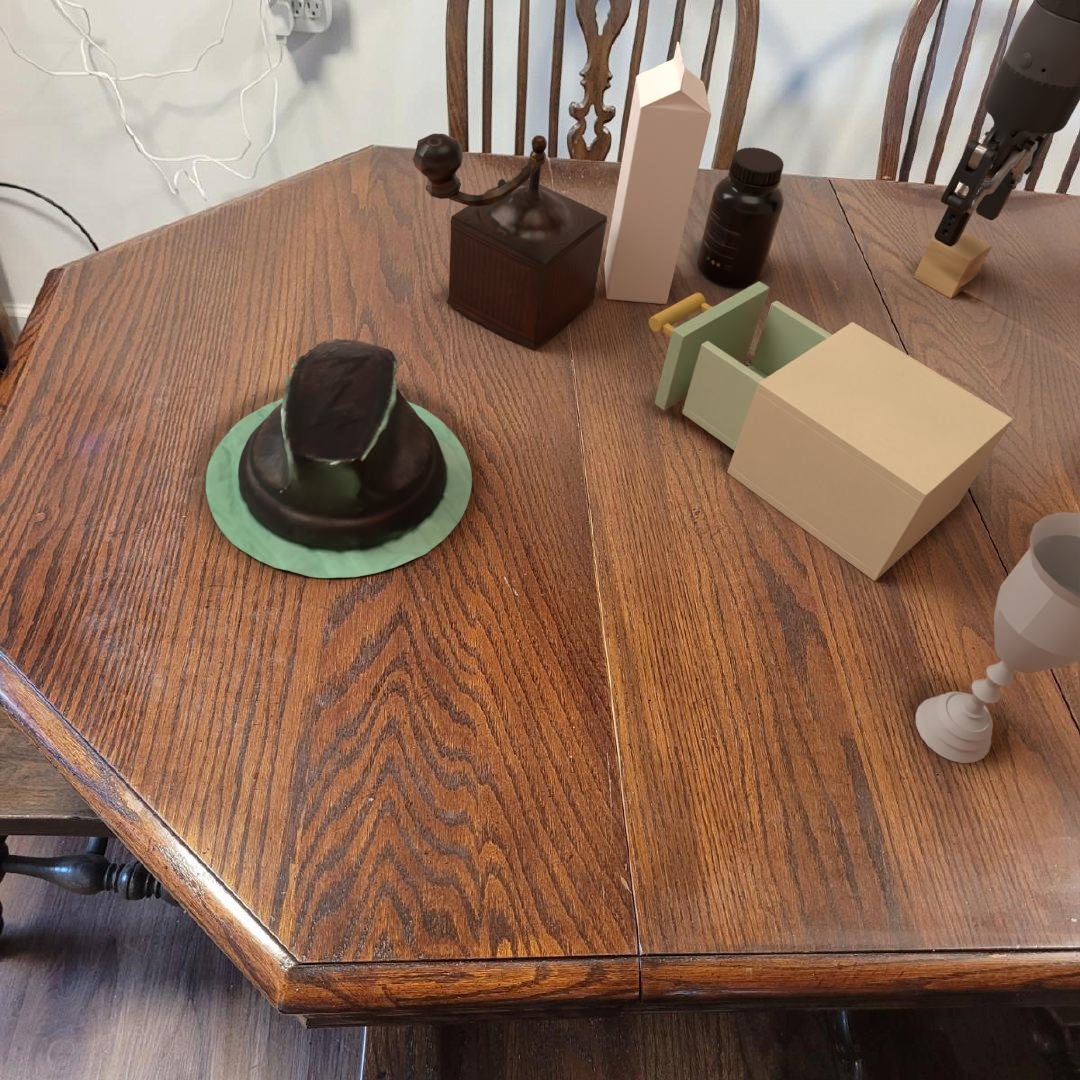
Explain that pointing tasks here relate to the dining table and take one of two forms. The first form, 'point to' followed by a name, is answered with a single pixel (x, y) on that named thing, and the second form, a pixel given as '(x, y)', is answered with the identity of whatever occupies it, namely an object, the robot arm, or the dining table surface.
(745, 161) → the supplement bottle
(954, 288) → the block
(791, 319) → the drawer
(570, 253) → the brown coffee grinder
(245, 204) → the dining table surface
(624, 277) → the milk
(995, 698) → the chalice
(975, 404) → the cabinet
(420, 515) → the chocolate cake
